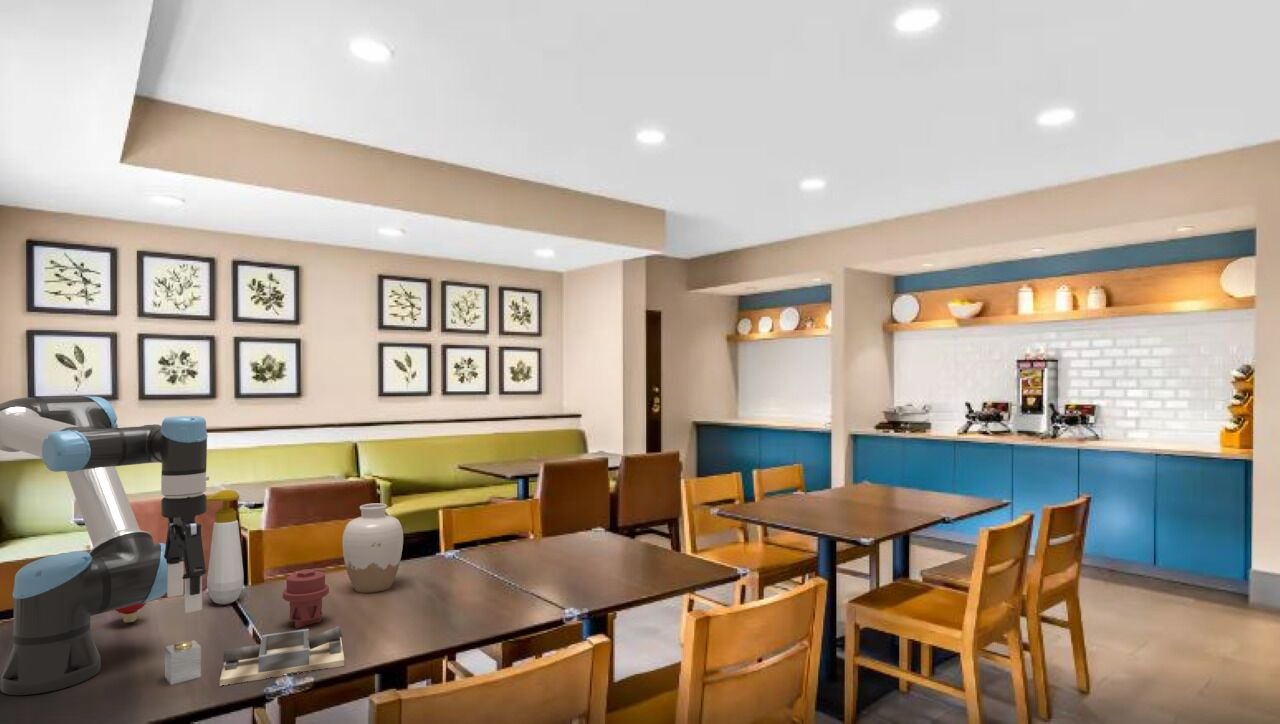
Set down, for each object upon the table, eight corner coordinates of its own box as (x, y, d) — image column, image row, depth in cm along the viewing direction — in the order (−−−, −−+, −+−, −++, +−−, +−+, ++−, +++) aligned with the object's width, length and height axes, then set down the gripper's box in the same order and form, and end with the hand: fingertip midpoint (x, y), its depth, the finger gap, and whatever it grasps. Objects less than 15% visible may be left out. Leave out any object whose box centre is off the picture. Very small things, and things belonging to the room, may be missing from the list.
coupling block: (171, 685, 137) (171, 650, 137) (164, 677, 141) (165, 643, 141) (200, 677, 141) (201, 643, 141) (193, 669, 144) (194, 636, 144)
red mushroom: (152, 624, 170) (152, 582, 170) (116, 632, 165) (117, 588, 165) (142, 615, 177) (142, 574, 177) (107, 622, 172) (108, 580, 172)
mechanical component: (337, 617, 175) (310, 632, 165) (301, 614, 177) (272, 629, 167) (337, 566, 175) (311, 578, 165) (301, 564, 177) (273, 575, 167)
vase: (381, 576, 210) (381, 498, 210) (414, 585, 201) (415, 504, 201) (330, 589, 197) (330, 506, 197) (364, 600, 188) (364, 513, 188)
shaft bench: (219, 686, 136) (219, 654, 137) (226, 659, 149) (226, 630, 149) (344, 665, 146) (344, 636, 146) (341, 642, 158) (341, 615, 159)
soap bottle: (195, 599, 189) (196, 489, 189) (240, 592, 195) (240, 485, 195) (200, 612, 179) (200, 495, 179) (246, 604, 185) (247, 491, 185)
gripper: (224, 499, 135) (224, 612, 135) (189, 486, 153) (189, 586, 152) (178, 505, 130) (178, 622, 129) (147, 490, 147) (146, 594, 147)
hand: (183, 603), depth 141 cm, fingers open, 13 cm apart
